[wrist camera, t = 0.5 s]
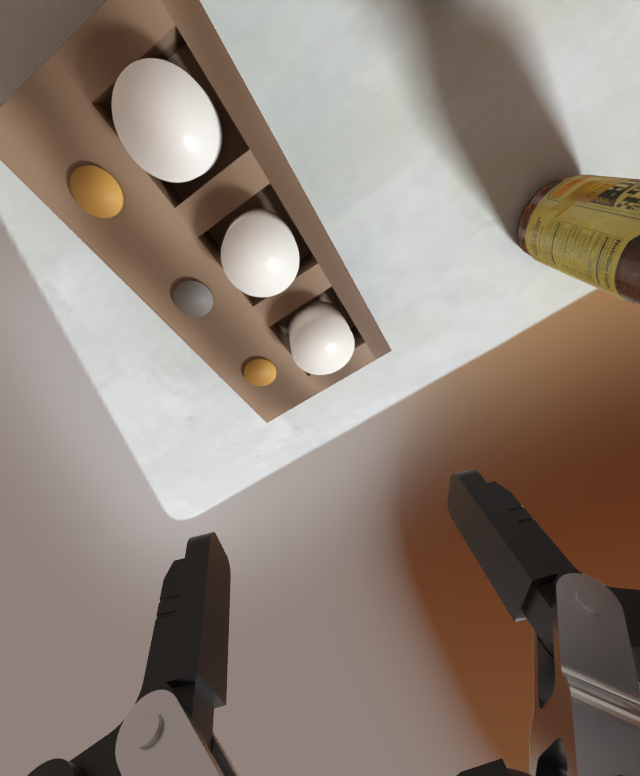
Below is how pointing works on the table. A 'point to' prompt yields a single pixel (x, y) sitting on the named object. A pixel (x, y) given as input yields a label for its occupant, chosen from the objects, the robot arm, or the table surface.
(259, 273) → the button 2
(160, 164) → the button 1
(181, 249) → the button board
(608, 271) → the sauce bottle
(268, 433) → the table surface
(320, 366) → the button
